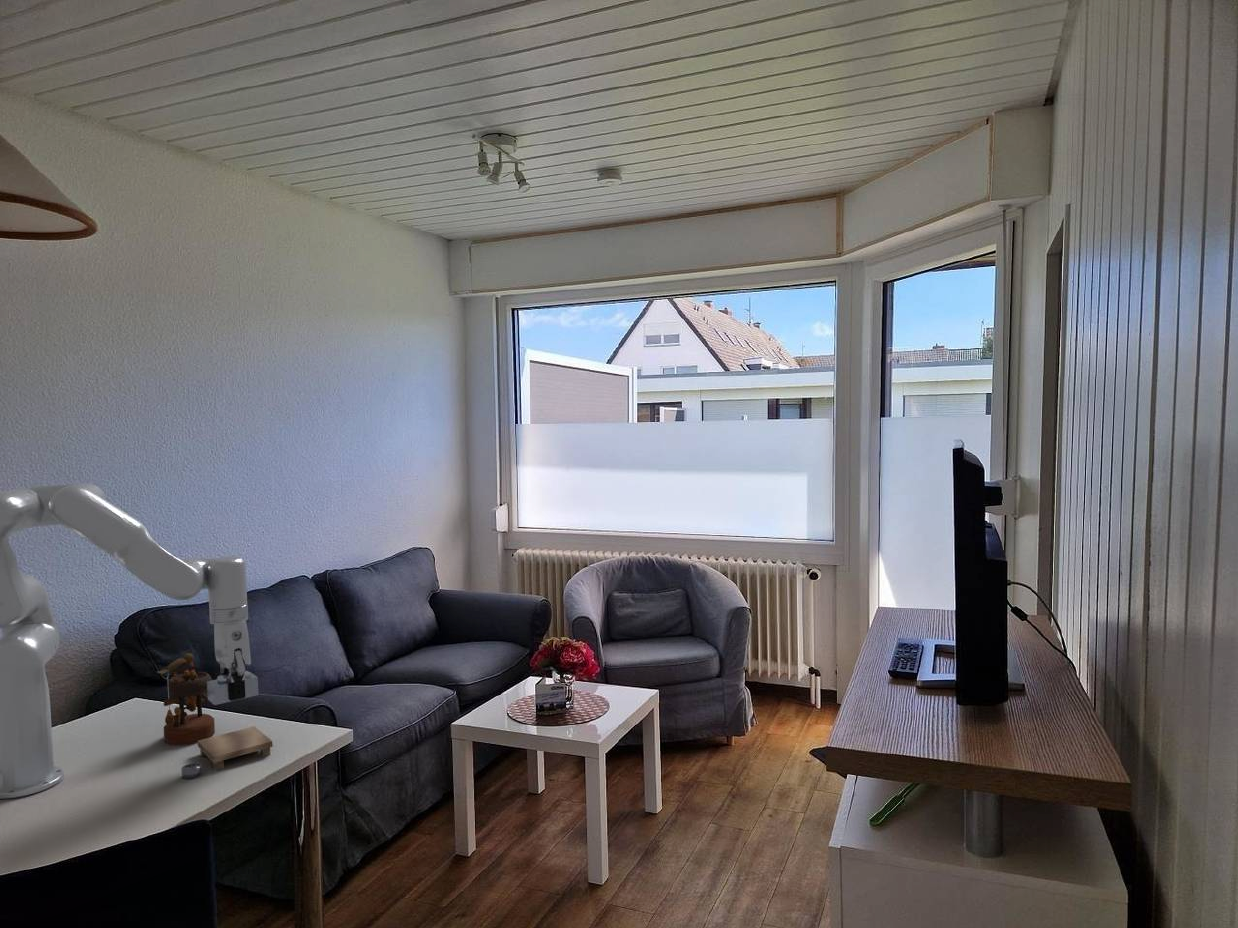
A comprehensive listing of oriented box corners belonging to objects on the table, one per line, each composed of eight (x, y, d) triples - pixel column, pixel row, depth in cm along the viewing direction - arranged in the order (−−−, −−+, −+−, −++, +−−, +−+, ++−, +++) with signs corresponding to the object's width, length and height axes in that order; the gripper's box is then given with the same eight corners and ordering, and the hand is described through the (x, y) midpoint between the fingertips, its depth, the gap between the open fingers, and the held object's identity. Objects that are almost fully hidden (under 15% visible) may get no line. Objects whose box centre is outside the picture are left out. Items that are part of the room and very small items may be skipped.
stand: (213, 771, 169) (213, 757, 169) (198, 753, 178) (197, 740, 178) (272, 754, 177) (272, 741, 177) (254, 738, 186) (254, 726, 186)
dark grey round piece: (184, 781, 164) (183, 772, 164) (179, 776, 167) (179, 766, 167) (203, 776, 167) (203, 766, 167) (198, 770, 169) (198, 761, 169)
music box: (191, 749, 180) (179, 661, 179) (148, 750, 182) (137, 663, 182) (235, 723, 195) (225, 642, 194) (195, 724, 197) (185, 644, 196)
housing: (258, 694, 178) (257, 672, 177) (214, 705, 172) (213, 682, 171) (251, 689, 181) (250, 667, 181) (207, 699, 175) (206, 676, 175)
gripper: (259, 617, 172) (264, 701, 173) (235, 604, 184) (239, 682, 185) (222, 624, 167) (226, 710, 168) (199, 610, 179) (203, 690, 180)
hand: (233, 694), depth 177 cm, fingers closed on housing, 5 cm apart
